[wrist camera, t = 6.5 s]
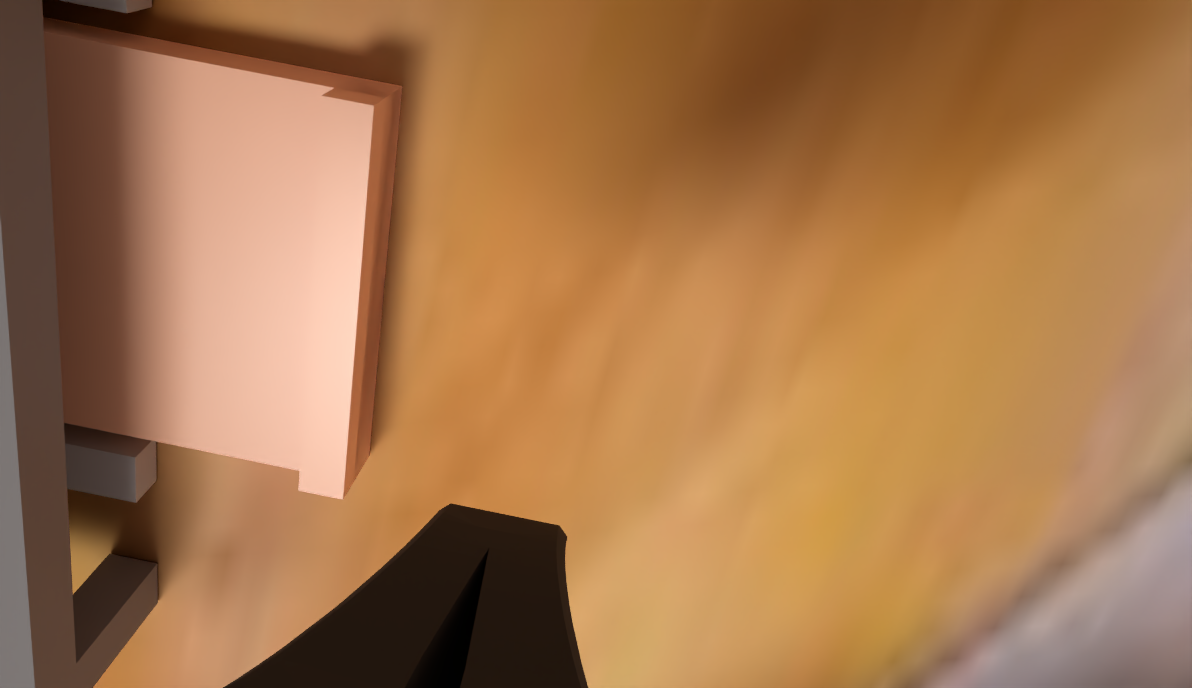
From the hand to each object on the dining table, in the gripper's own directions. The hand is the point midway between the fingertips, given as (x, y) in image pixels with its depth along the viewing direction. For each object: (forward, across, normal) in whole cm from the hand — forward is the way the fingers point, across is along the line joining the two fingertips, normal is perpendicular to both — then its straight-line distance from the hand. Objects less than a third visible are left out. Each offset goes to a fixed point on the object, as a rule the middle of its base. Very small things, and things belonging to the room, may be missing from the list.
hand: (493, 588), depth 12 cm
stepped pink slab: (+8, +8, 0) cm, 11 cm away
